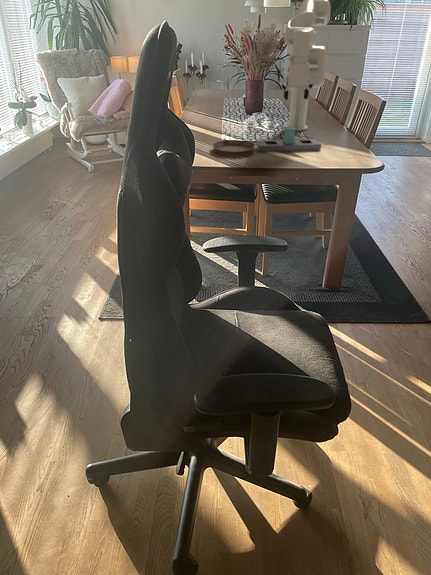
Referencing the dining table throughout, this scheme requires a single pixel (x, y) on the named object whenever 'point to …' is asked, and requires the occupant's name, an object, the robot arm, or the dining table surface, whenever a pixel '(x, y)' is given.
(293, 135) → the square block
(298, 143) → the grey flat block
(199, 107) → the dining table surface
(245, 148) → the plant saucer
